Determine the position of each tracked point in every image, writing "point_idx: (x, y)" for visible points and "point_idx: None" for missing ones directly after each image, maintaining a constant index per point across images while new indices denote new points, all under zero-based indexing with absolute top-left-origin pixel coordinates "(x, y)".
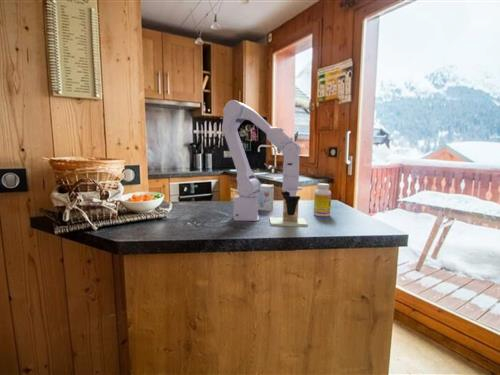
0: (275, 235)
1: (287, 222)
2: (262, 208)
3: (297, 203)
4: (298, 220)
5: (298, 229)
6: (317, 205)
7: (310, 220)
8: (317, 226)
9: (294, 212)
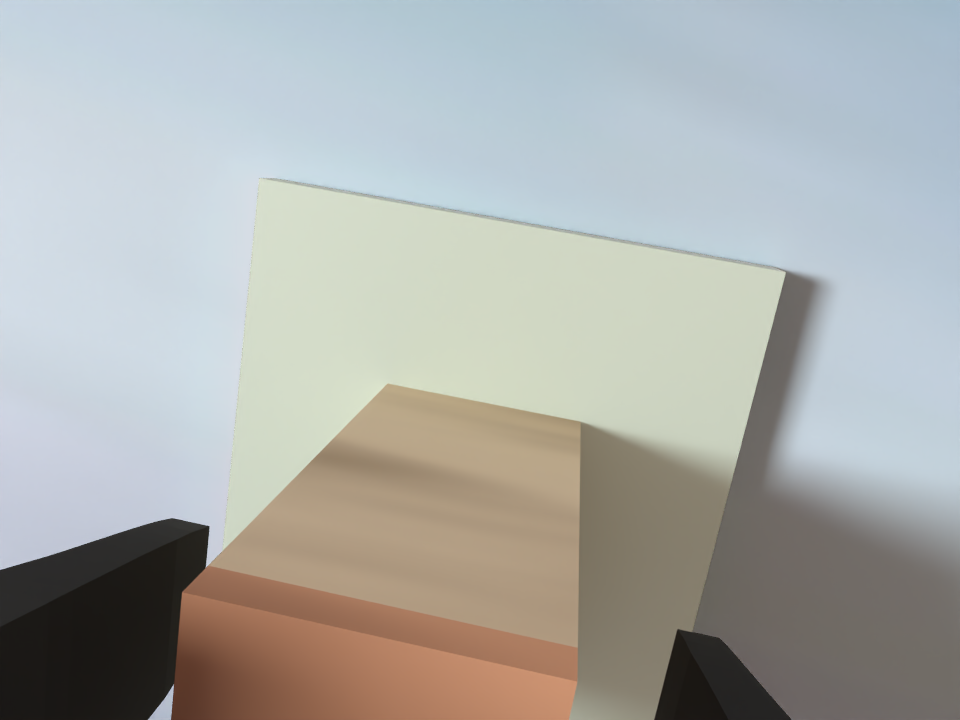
0: None
1: (595, 624)
2: None
3: (571, 664)
4: (473, 365)
5: (939, 517)
6: None
7: (329, 33)
8: (814, 54)
9: (750, 674)
